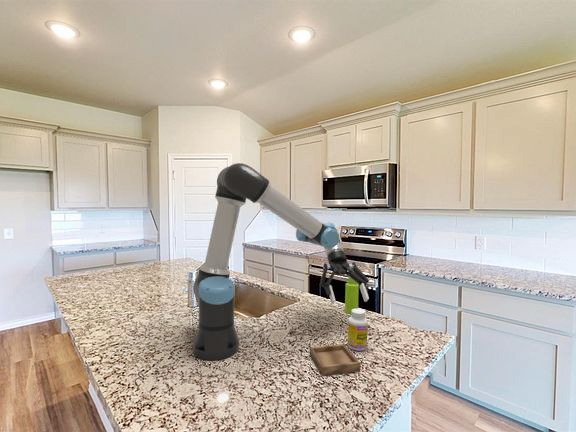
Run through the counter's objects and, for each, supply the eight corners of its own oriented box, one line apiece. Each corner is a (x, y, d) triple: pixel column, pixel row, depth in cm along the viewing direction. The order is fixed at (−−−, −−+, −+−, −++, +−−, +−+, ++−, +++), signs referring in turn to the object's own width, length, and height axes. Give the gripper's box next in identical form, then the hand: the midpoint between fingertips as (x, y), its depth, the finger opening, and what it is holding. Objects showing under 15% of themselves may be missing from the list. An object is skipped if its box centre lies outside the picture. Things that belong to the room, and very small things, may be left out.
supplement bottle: (356, 353, 99) (357, 315, 98) (343, 344, 105) (344, 309, 104) (371, 349, 102) (372, 312, 101) (358, 341, 108) (359, 306, 107)
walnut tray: (322, 375, 86) (322, 367, 86) (309, 354, 97) (309, 347, 97) (360, 371, 88) (360, 363, 88) (343, 351, 100) (343, 344, 100)
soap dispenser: (360, 315, 133) (361, 271, 132) (344, 313, 134) (346, 270, 133) (360, 310, 139) (361, 268, 138) (345, 309, 140) (346, 267, 139)
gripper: (359, 258, 131) (376, 303, 117) (305, 260, 125) (316, 308, 111) (365, 248, 125) (384, 294, 111) (309, 250, 119) (321, 299, 105)
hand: (350, 301), depth 111 cm, fingers open, 13 cm apart
